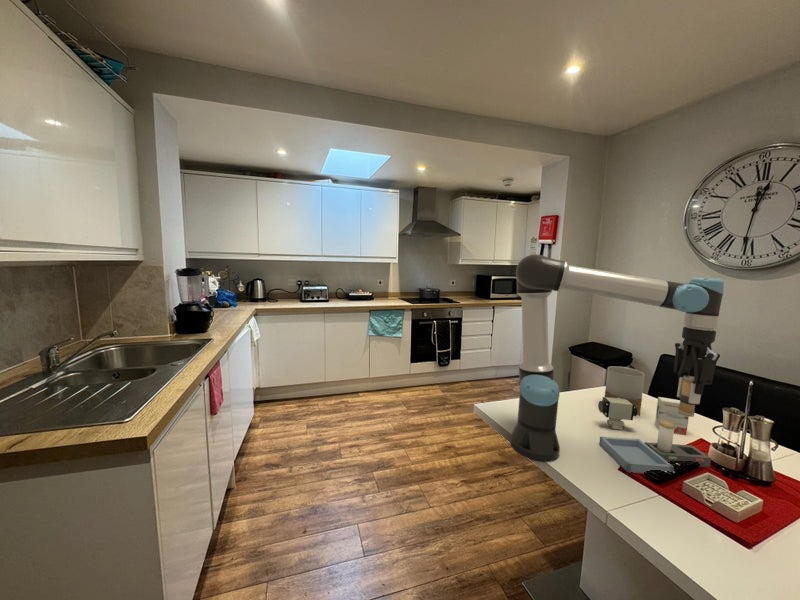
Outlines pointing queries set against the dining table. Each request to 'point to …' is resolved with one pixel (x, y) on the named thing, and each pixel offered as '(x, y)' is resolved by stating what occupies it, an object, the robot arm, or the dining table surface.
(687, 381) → the fuse
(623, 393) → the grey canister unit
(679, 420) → the ink box
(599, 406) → the pneumatic valve
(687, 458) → the fuse holder
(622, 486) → the dining table surface
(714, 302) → the robot arm
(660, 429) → the cylinder
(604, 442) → the parts tray
